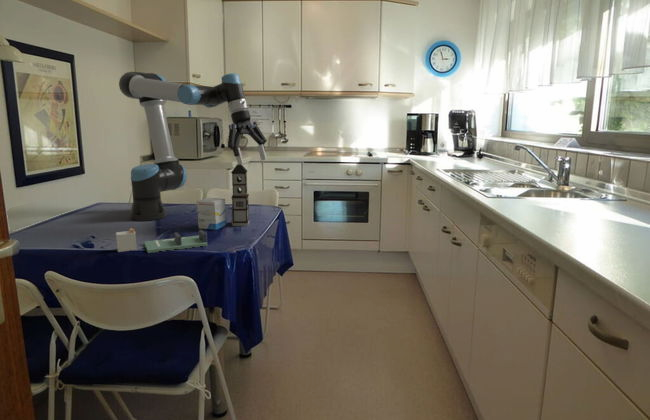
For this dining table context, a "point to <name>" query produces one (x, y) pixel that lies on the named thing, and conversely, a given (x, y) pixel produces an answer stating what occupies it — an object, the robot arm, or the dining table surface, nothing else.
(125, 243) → the plug
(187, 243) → the board
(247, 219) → the miniature building
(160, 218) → the robot arm
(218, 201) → the ink box
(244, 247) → the dining table surface
